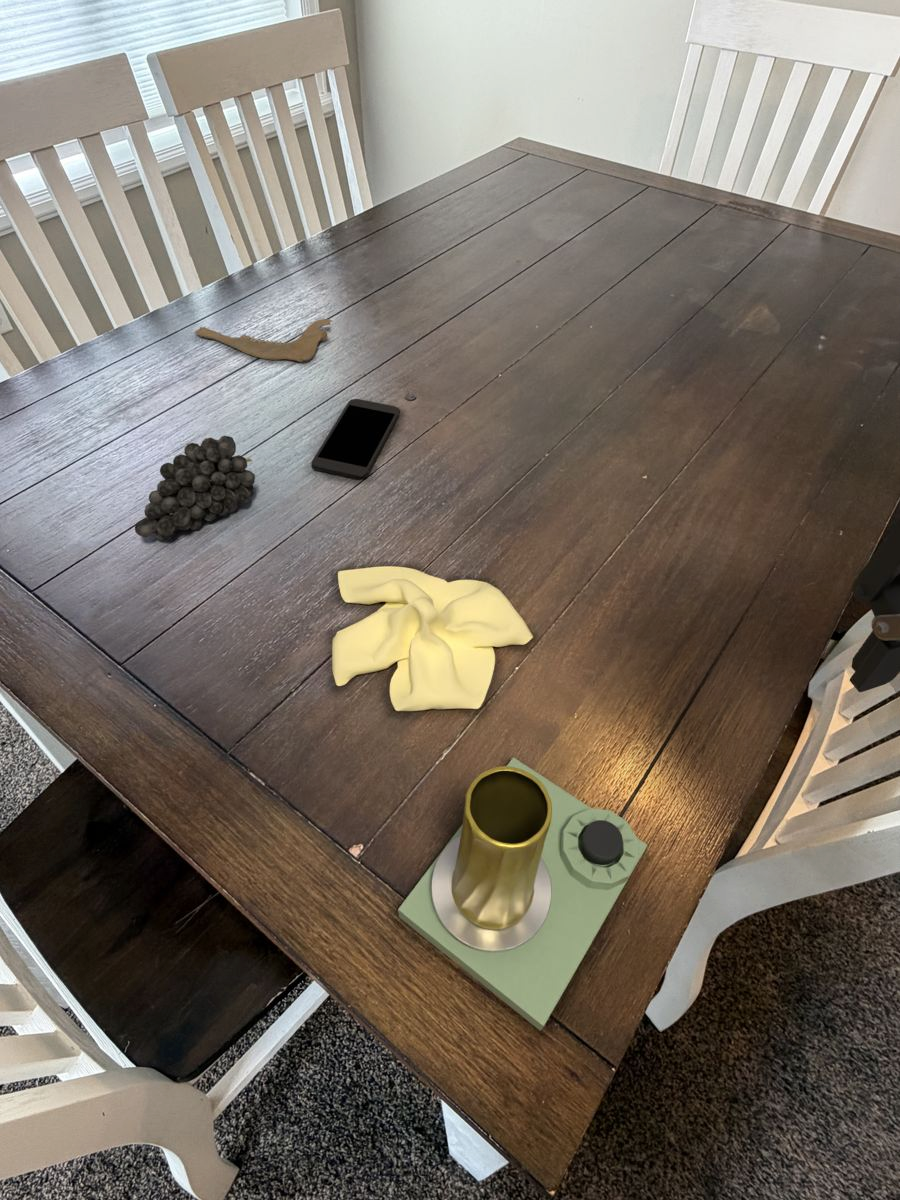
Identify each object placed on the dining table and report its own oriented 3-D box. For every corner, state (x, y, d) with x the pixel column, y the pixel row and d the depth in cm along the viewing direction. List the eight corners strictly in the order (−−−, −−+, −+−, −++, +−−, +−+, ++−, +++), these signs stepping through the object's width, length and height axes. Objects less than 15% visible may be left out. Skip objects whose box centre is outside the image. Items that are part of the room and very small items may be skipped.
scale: (511, 766, 65) (515, 747, 62) (642, 853, 60) (652, 836, 58) (398, 916, 57) (396, 902, 54) (540, 1031, 52) (546, 1021, 49)
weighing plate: (476, 809, 59) (476, 805, 58) (573, 876, 56) (574, 873, 55) (406, 901, 54) (406, 898, 54) (507, 981, 51) (508, 979, 50)
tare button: (592, 820, 59) (596, 812, 58) (625, 842, 58) (629, 834, 57) (573, 850, 57) (576, 842, 56) (607, 873, 56) (611, 865, 55)
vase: (457, 840, 56) (464, 752, 46) (536, 852, 56) (562, 765, 45) (446, 922, 53) (450, 847, 42) (530, 935, 52) (558, 863, 41)
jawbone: (333, 366, 106) (331, 354, 104) (189, 373, 104) (185, 360, 103) (333, 328, 111) (331, 316, 109) (196, 334, 110) (192, 322, 108)
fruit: (127, 498, 73) (248, 429, 80) (95, 482, 78) (211, 418, 85) (167, 567, 78) (277, 496, 85) (134, 547, 84) (241, 482, 91)
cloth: (549, 607, 77) (557, 568, 72) (476, 748, 66) (479, 713, 61) (366, 538, 83) (362, 498, 78) (271, 657, 72) (260, 619, 67)
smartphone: (403, 410, 98) (402, 405, 98) (365, 481, 89) (365, 476, 88) (351, 401, 99) (350, 396, 99) (309, 470, 90) (308, 465, 89)
